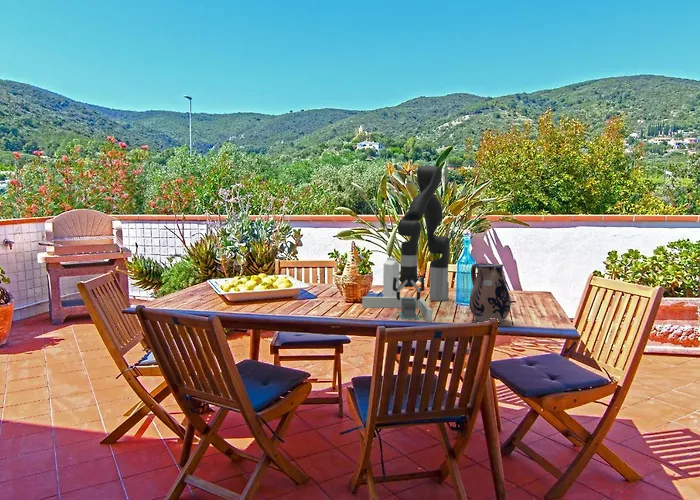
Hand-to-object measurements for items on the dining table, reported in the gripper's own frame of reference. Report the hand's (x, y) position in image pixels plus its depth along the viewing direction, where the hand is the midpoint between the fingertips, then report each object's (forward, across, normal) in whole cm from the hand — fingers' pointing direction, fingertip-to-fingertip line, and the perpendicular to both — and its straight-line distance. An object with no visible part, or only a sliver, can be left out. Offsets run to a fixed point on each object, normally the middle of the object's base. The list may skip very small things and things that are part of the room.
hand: (408, 300), depth 249 cm
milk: (+8, -4, +38) cm, 39 cm away
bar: (+7, 0, 0) cm, 7 cm away
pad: (+7, 0, 0) cm, 7 cm away
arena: (+7, -6, +4) cm, 10 cm away
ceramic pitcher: (+7, +33, -10) cm, 35 cm away
